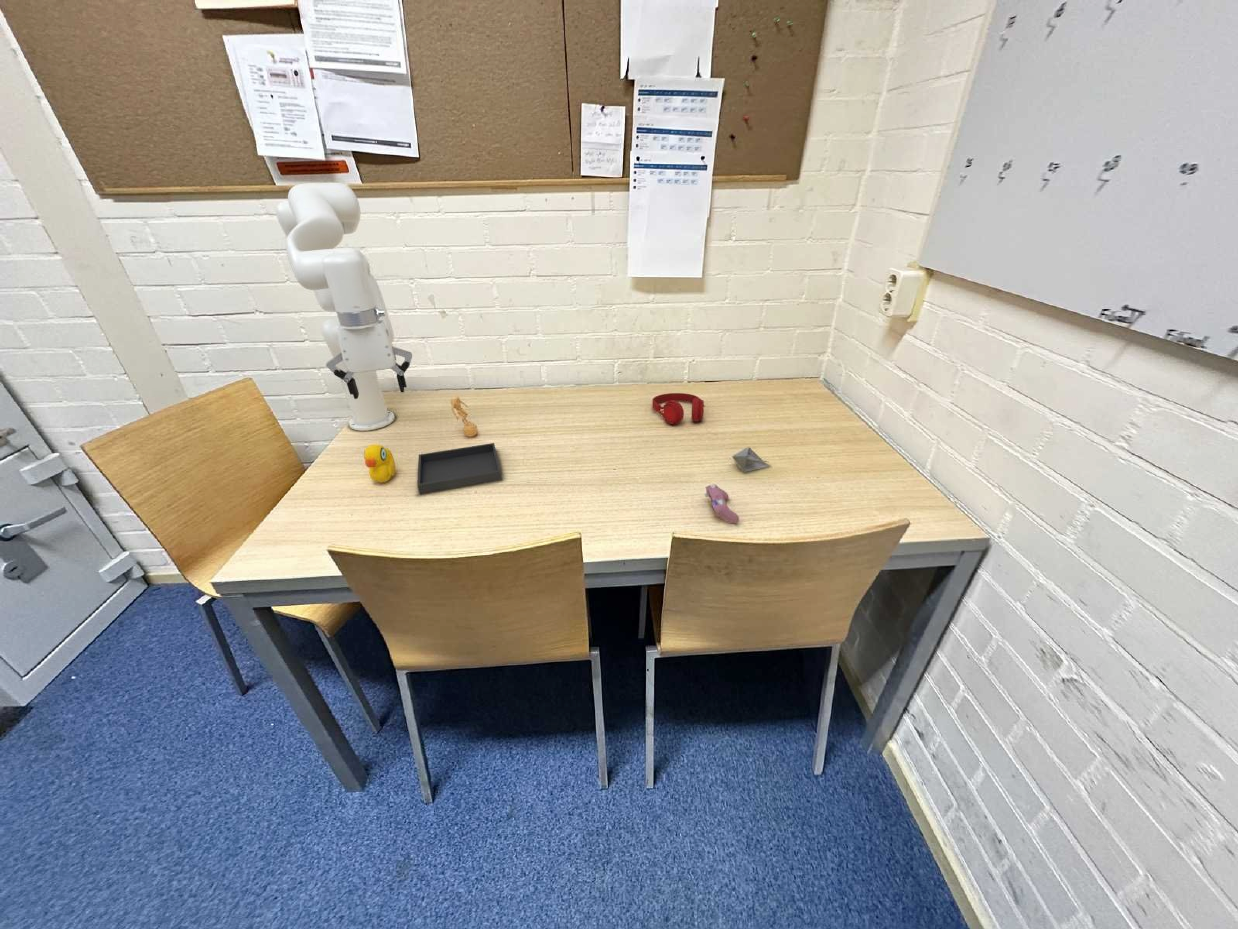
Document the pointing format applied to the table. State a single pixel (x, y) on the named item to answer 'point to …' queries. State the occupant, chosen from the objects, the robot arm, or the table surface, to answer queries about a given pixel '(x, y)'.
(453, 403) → the figurine
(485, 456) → the pan
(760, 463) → the paper boat
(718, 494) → the pink elongated piece
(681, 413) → the headphones
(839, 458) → the table surface
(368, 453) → the duckling
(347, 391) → the robot arm
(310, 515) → the table surface
